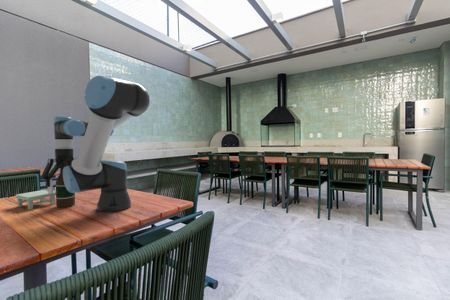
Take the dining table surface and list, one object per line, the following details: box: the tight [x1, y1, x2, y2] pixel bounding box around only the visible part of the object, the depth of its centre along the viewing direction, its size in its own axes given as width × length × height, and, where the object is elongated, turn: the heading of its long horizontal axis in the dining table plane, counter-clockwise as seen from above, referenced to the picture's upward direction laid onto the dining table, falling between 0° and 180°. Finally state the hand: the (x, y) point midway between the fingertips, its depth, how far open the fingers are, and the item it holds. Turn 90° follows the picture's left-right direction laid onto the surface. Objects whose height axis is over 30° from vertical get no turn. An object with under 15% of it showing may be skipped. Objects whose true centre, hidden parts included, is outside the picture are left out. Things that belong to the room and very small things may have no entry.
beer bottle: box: [55, 158, 76, 209], centre depth 115 cm, size 8×8×24 cm
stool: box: [14, 189, 56, 211], centre depth 116 cm, size 12×12×6 cm
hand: (65, 190), depth 115 cm, fingers open, 13 cm apart
